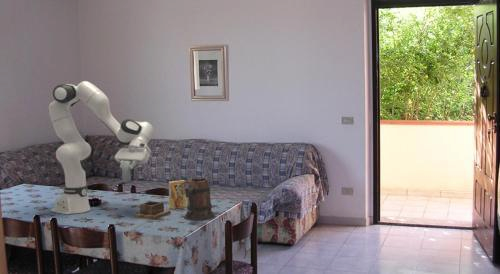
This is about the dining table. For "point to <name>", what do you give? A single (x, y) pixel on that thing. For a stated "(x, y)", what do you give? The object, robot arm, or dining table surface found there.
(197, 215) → the tankard
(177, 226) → the dining table surface
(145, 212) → the slot stand
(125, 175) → the grey peg
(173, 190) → the candy box
